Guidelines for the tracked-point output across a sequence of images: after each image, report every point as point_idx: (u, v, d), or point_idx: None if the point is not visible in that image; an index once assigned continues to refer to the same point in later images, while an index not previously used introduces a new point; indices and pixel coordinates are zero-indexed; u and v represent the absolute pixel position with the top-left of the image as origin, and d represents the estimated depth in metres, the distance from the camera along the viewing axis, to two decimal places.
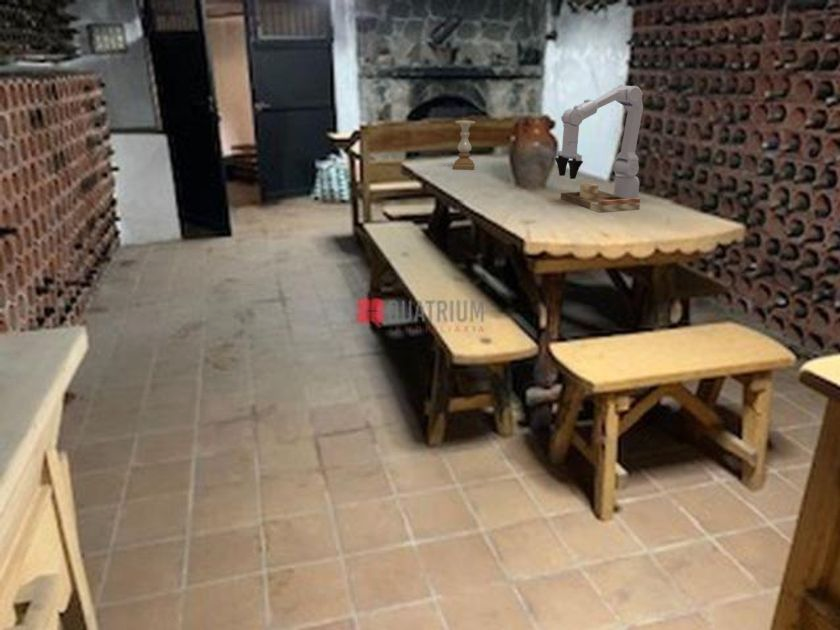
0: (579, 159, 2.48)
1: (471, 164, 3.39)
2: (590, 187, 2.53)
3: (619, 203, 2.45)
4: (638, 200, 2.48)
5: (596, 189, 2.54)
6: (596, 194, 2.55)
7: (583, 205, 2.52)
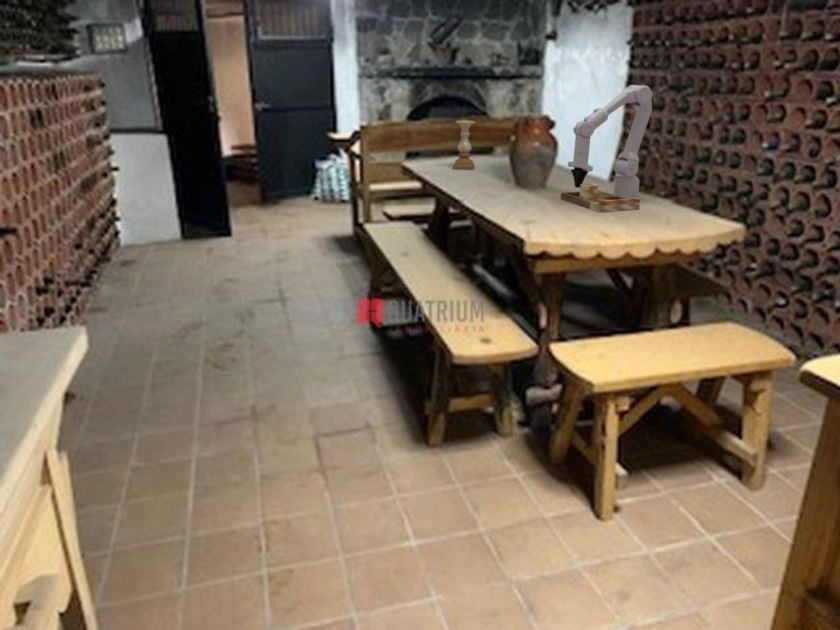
0: (590, 170, 2.54)
1: (471, 164, 3.39)
2: (590, 187, 2.53)
3: (619, 203, 2.45)
4: (638, 200, 2.48)
5: (596, 189, 2.54)
6: (596, 194, 2.55)
7: (583, 205, 2.52)
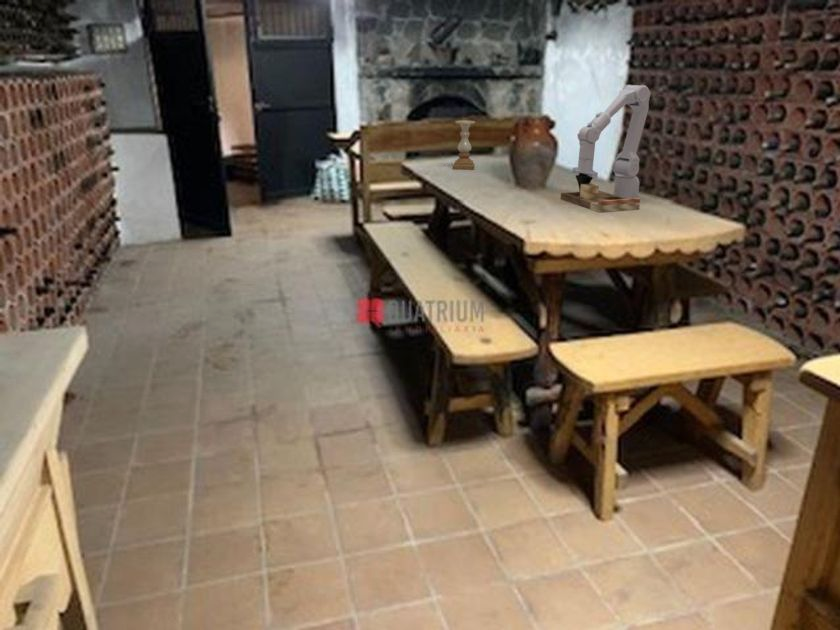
0: (595, 176, 2.51)
1: (471, 164, 3.39)
2: (590, 187, 2.53)
3: (619, 203, 2.45)
4: (638, 200, 2.48)
5: (596, 189, 2.54)
6: (596, 194, 2.55)
7: (583, 205, 2.52)
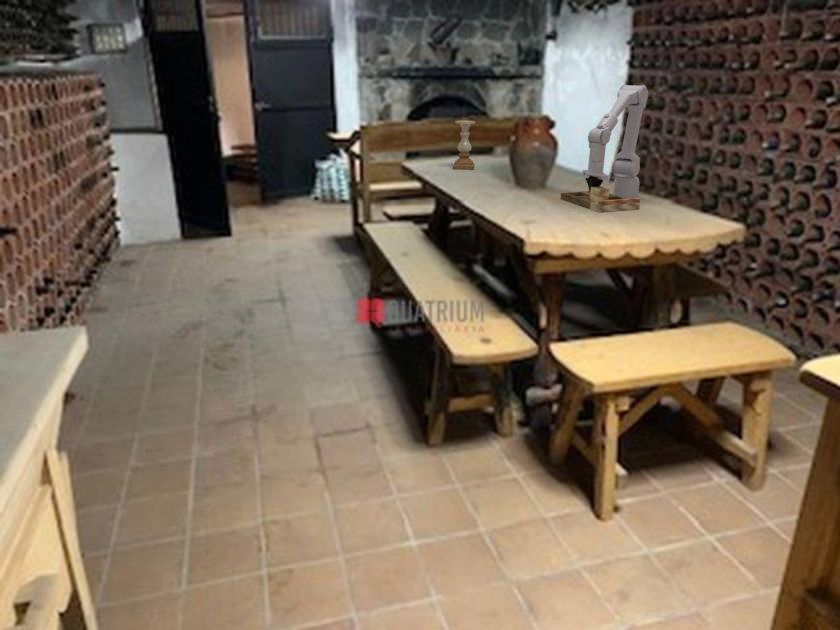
0: (606, 179, 2.45)
1: (471, 164, 3.39)
2: (601, 190, 2.47)
3: (619, 203, 2.45)
4: (638, 200, 2.48)
5: (607, 192, 2.48)
6: (607, 197, 2.49)
7: (583, 205, 2.52)
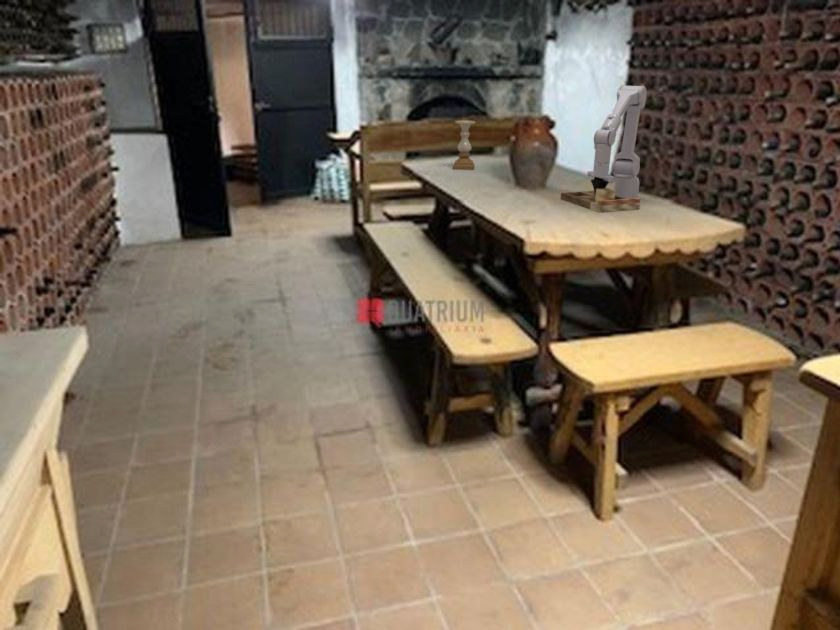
0: (611, 180, 2.42)
1: (471, 164, 3.39)
2: (606, 192, 2.44)
3: (619, 203, 2.45)
4: (638, 200, 2.48)
5: (612, 194, 2.45)
6: (612, 199, 2.46)
7: (583, 205, 2.52)
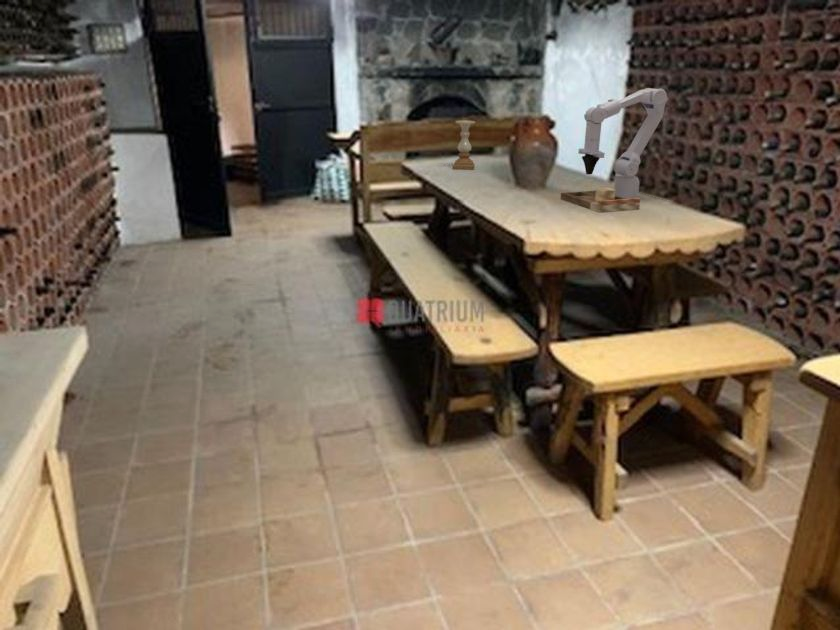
0: (602, 156, 2.53)
1: (471, 164, 3.39)
2: (606, 192, 2.44)
3: (619, 203, 2.45)
4: (638, 200, 2.48)
5: (612, 194, 2.45)
6: (612, 199, 2.46)
7: (583, 205, 2.52)
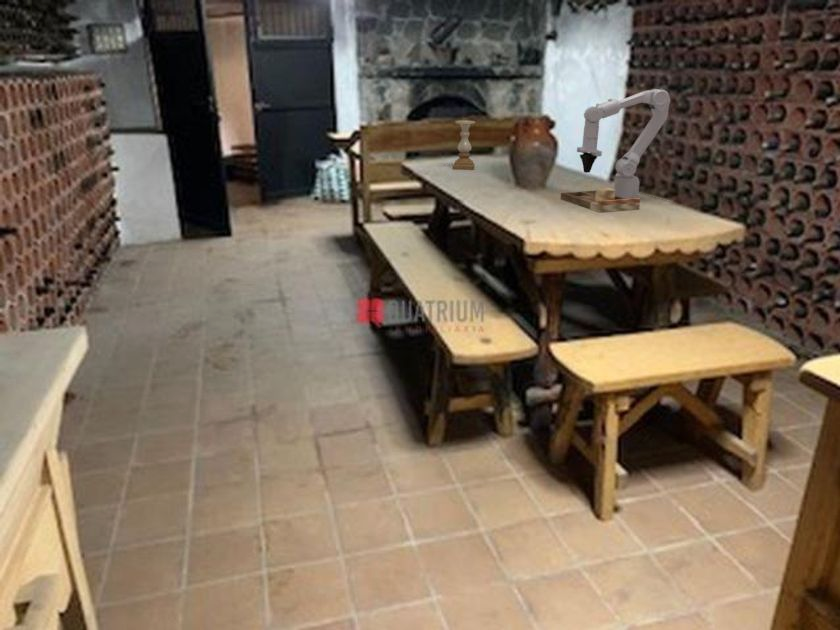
0: (599, 155, 2.57)
1: (471, 164, 3.39)
2: (606, 192, 2.44)
3: (619, 203, 2.45)
4: (638, 200, 2.48)
5: (612, 194, 2.45)
6: (612, 199, 2.46)
7: (583, 205, 2.52)
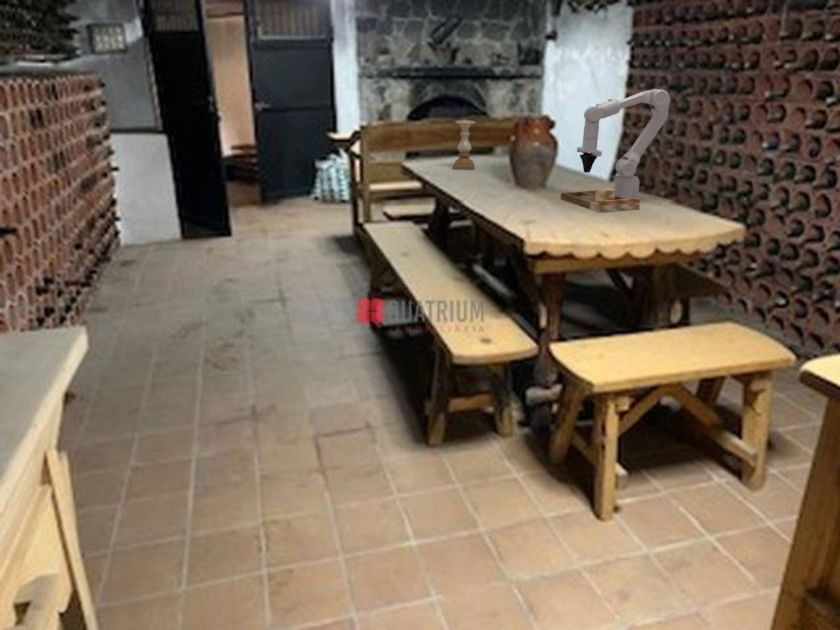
0: (599, 155, 2.57)
1: (471, 164, 3.39)
2: (606, 192, 2.44)
3: (619, 203, 2.45)
4: (638, 200, 2.48)
5: (612, 194, 2.45)
6: (612, 199, 2.46)
7: (583, 205, 2.52)
